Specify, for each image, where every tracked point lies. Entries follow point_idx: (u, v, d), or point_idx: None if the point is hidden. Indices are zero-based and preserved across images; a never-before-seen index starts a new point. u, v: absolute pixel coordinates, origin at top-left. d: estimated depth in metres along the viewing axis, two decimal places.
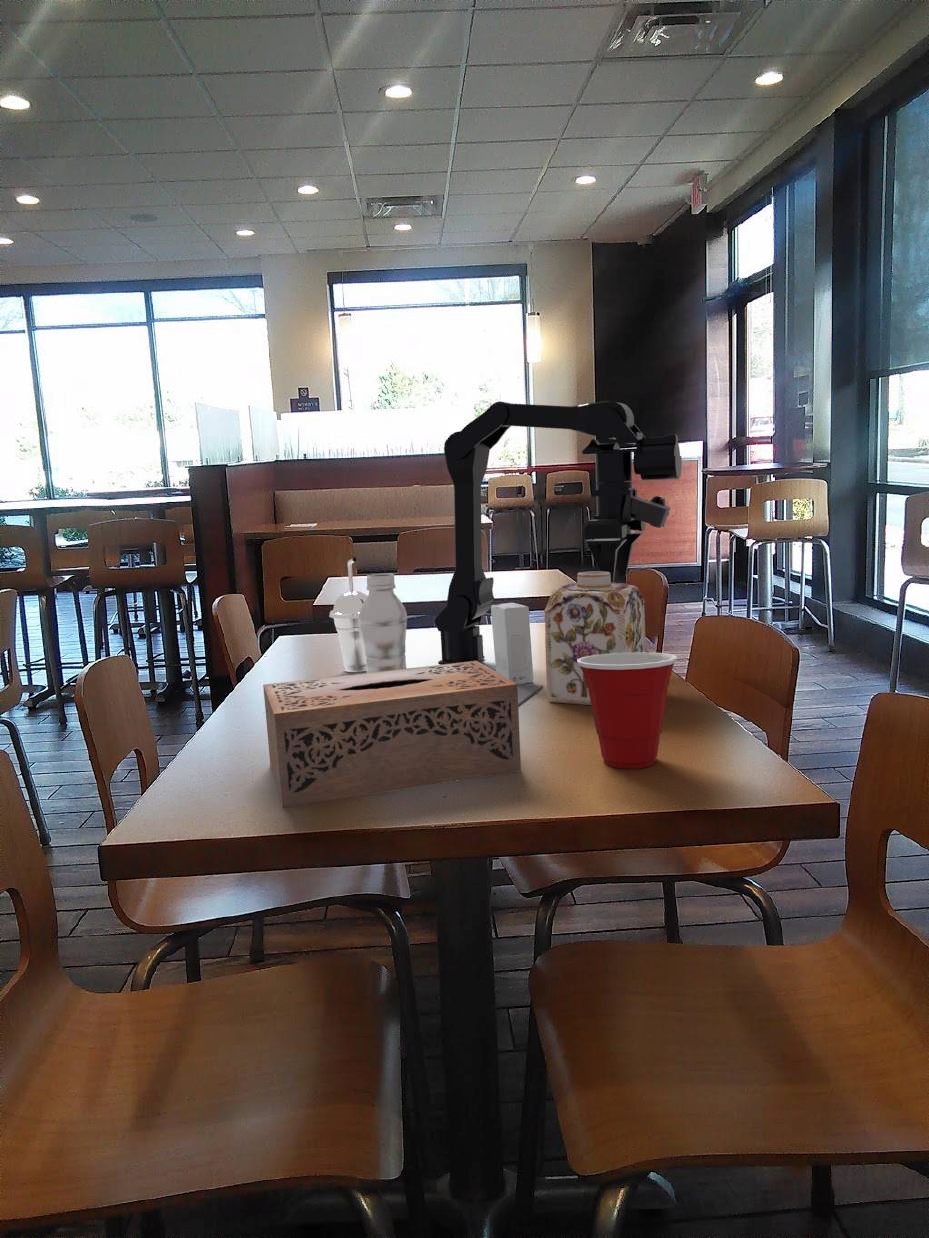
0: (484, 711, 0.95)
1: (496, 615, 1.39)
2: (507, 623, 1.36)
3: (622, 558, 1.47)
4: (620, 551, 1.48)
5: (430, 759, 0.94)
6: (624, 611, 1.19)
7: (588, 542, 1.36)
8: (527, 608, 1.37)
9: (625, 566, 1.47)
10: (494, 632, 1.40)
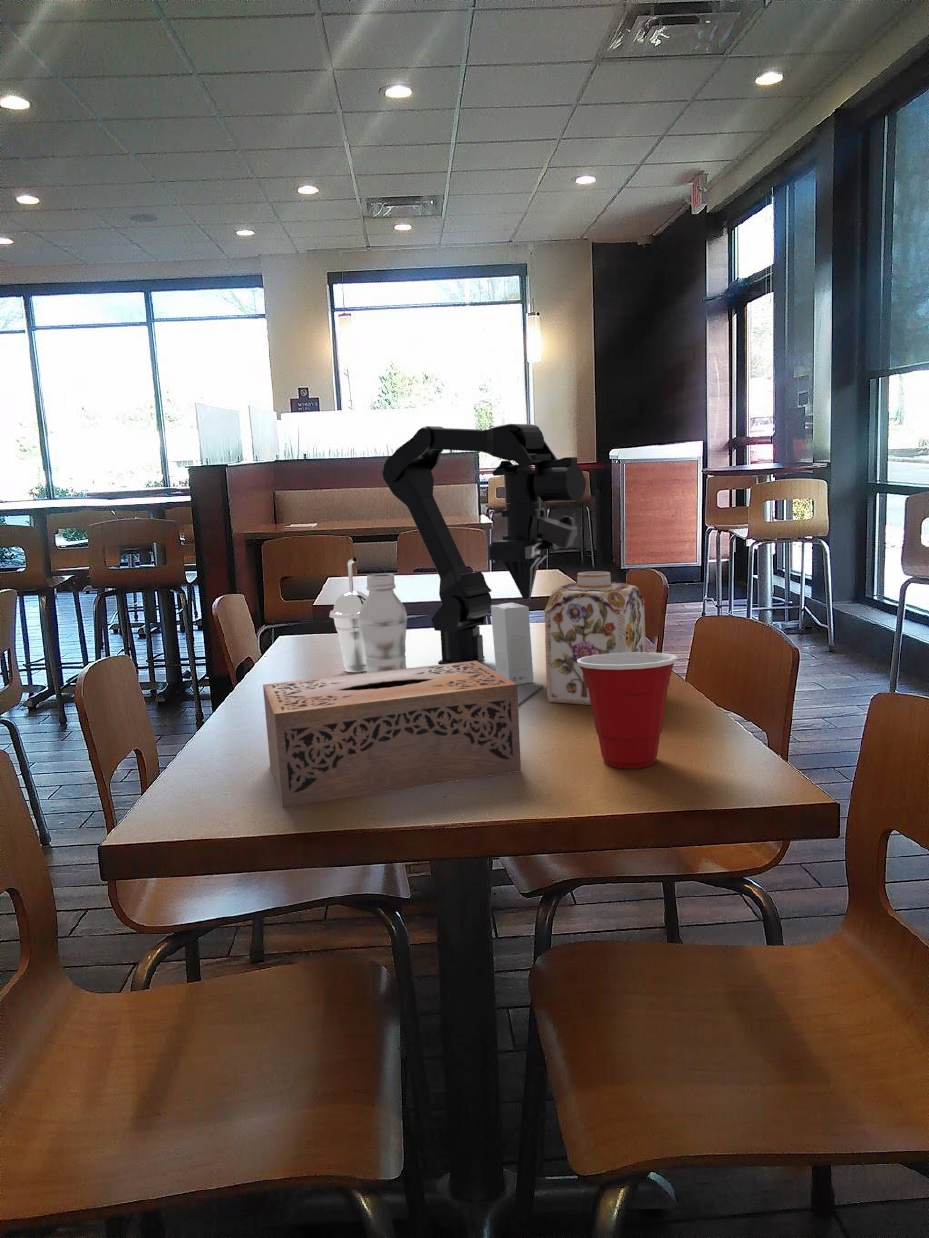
0: (484, 711, 0.95)
1: (496, 615, 1.39)
2: (507, 623, 1.36)
3: None
4: None
5: (430, 759, 0.94)
6: (624, 611, 1.19)
7: (504, 560, 1.43)
8: (527, 608, 1.37)
9: None
10: (494, 632, 1.40)
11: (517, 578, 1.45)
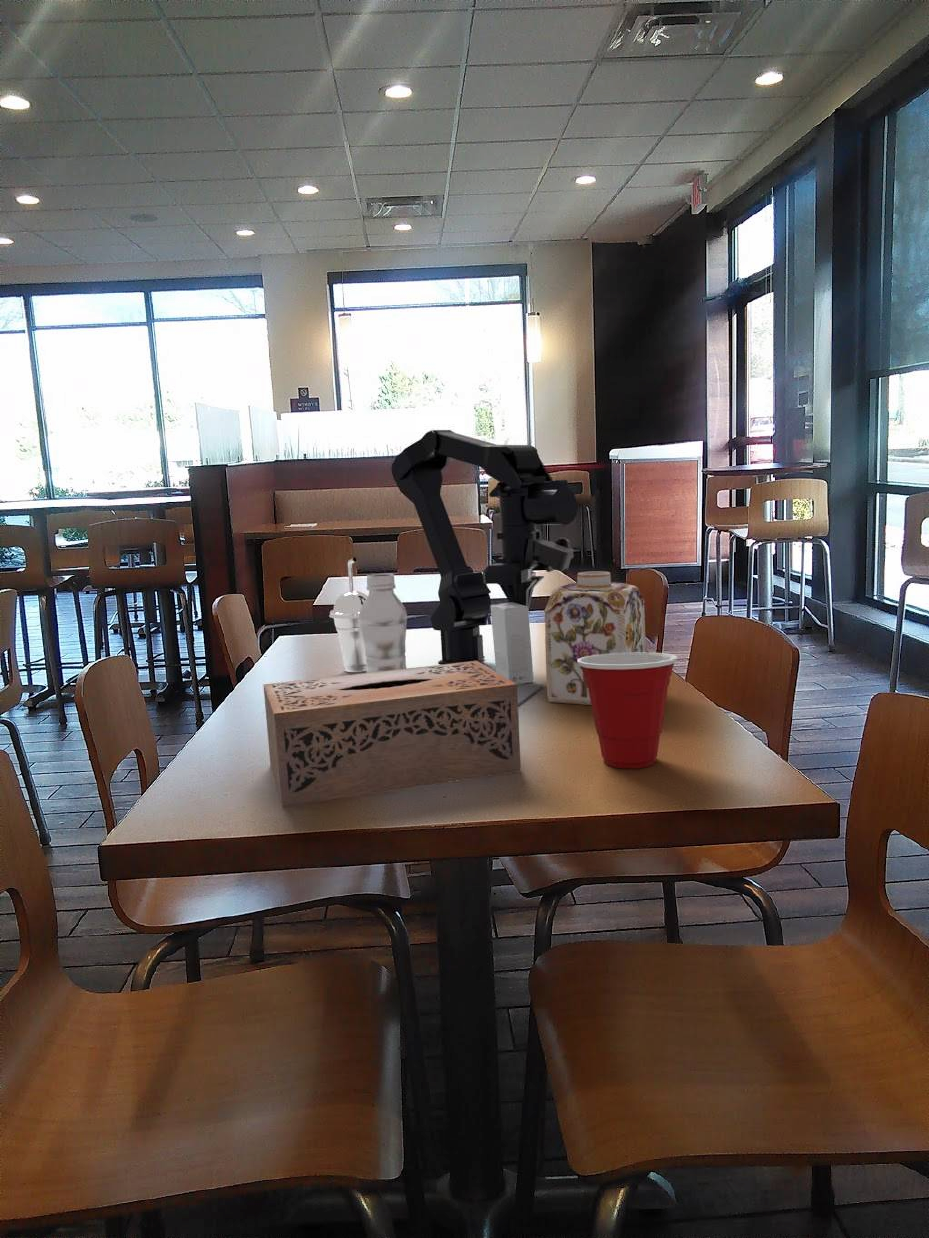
0: (484, 711, 0.95)
1: (496, 615, 1.39)
2: (507, 623, 1.36)
3: None
4: None
5: (430, 759, 0.94)
6: (624, 611, 1.19)
7: None
8: (527, 608, 1.37)
9: None
10: (494, 632, 1.40)
11: (513, 601, 1.43)
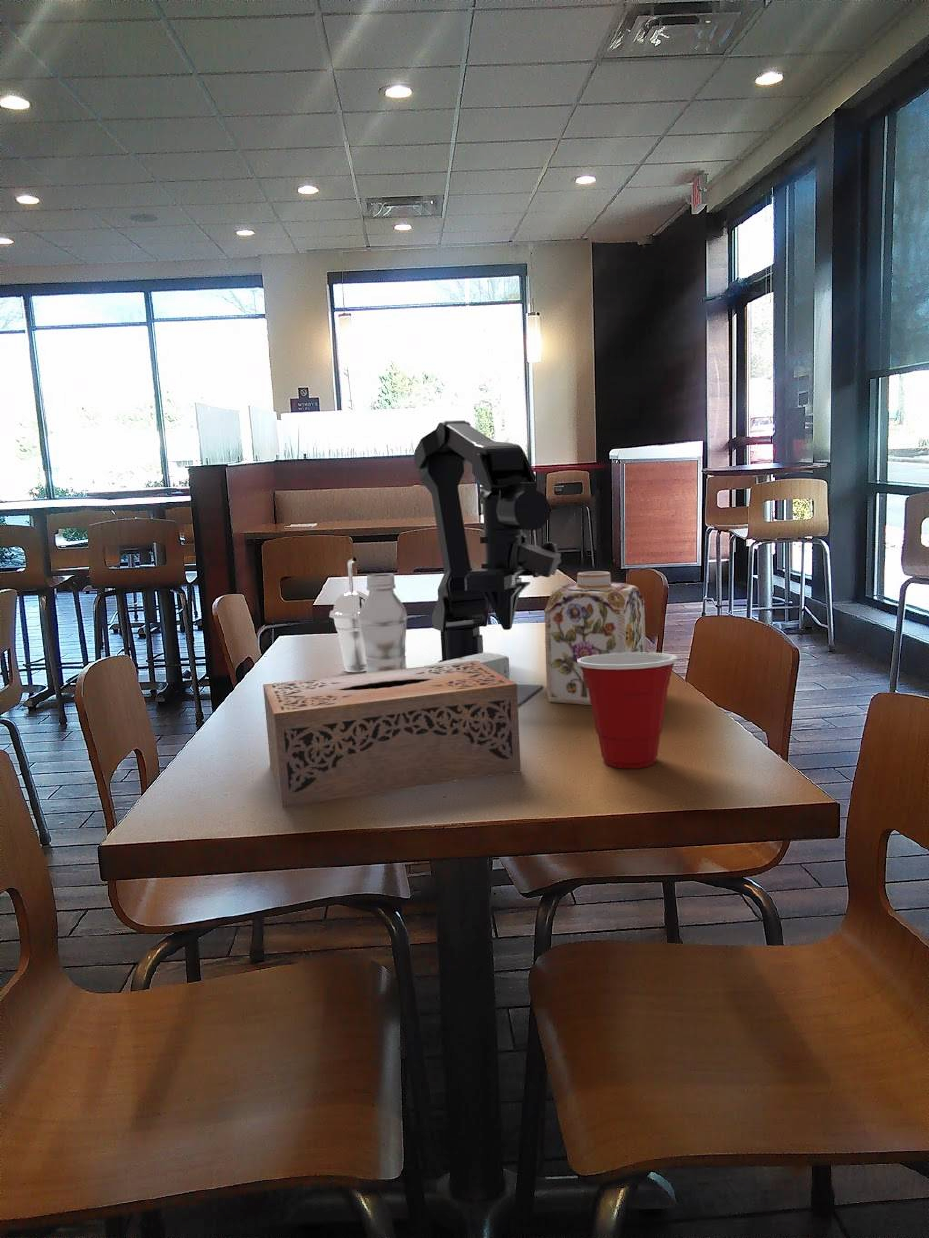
0: (484, 711, 0.95)
1: None
2: None
3: None
4: None
5: (430, 759, 0.94)
6: (624, 611, 1.19)
7: None
8: None
9: None
10: None
11: (497, 608, 1.36)
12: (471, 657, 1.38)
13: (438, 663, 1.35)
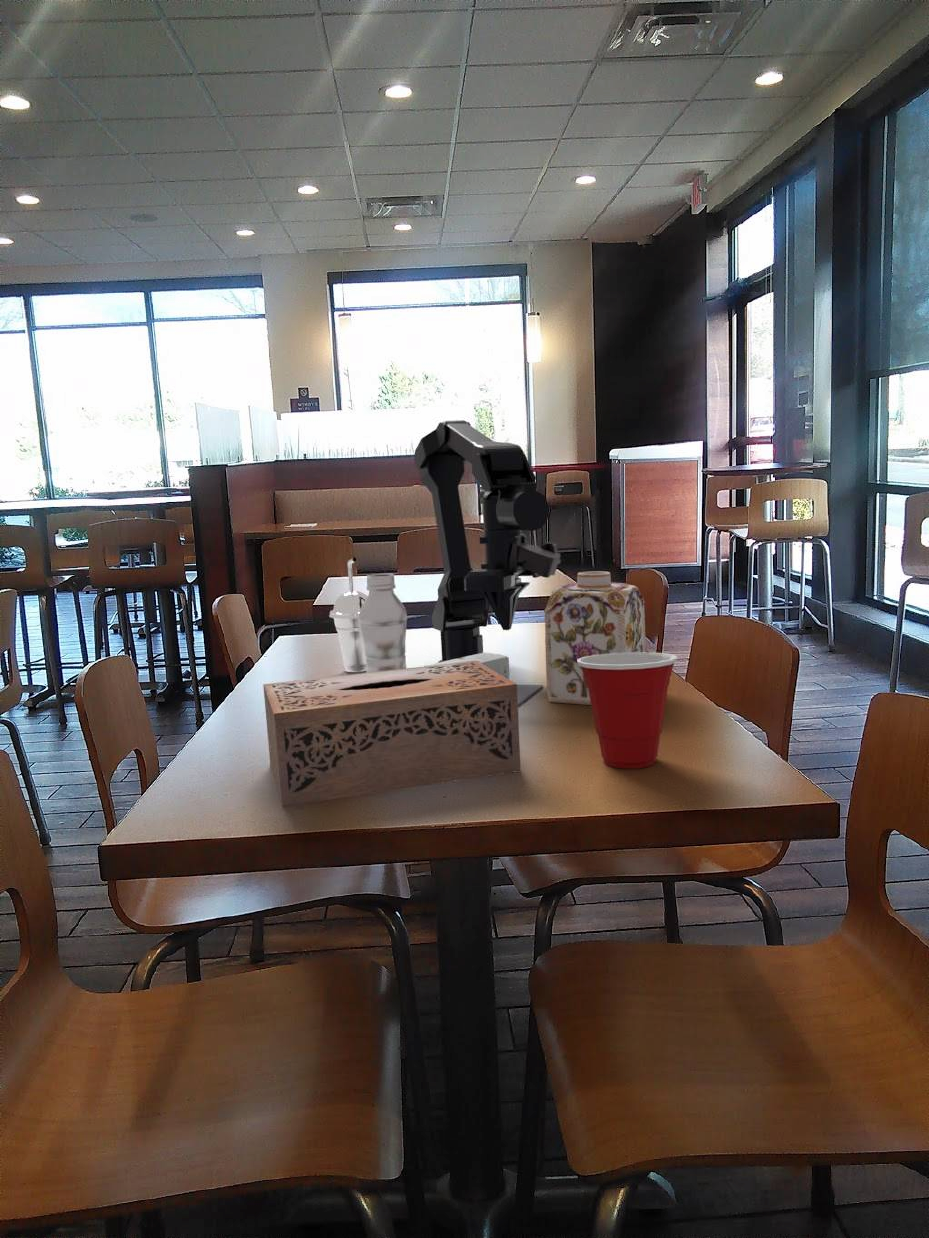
0: (484, 711, 0.95)
1: None
2: None
3: None
4: None
5: (430, 759, 0.94)
6: (624, 611, 1.19)
7: None
8: None
9: None
10: None
11: (496, 608, 1.36)
12: (471, 657, 1.38)
13: (438, 663, 1.35)
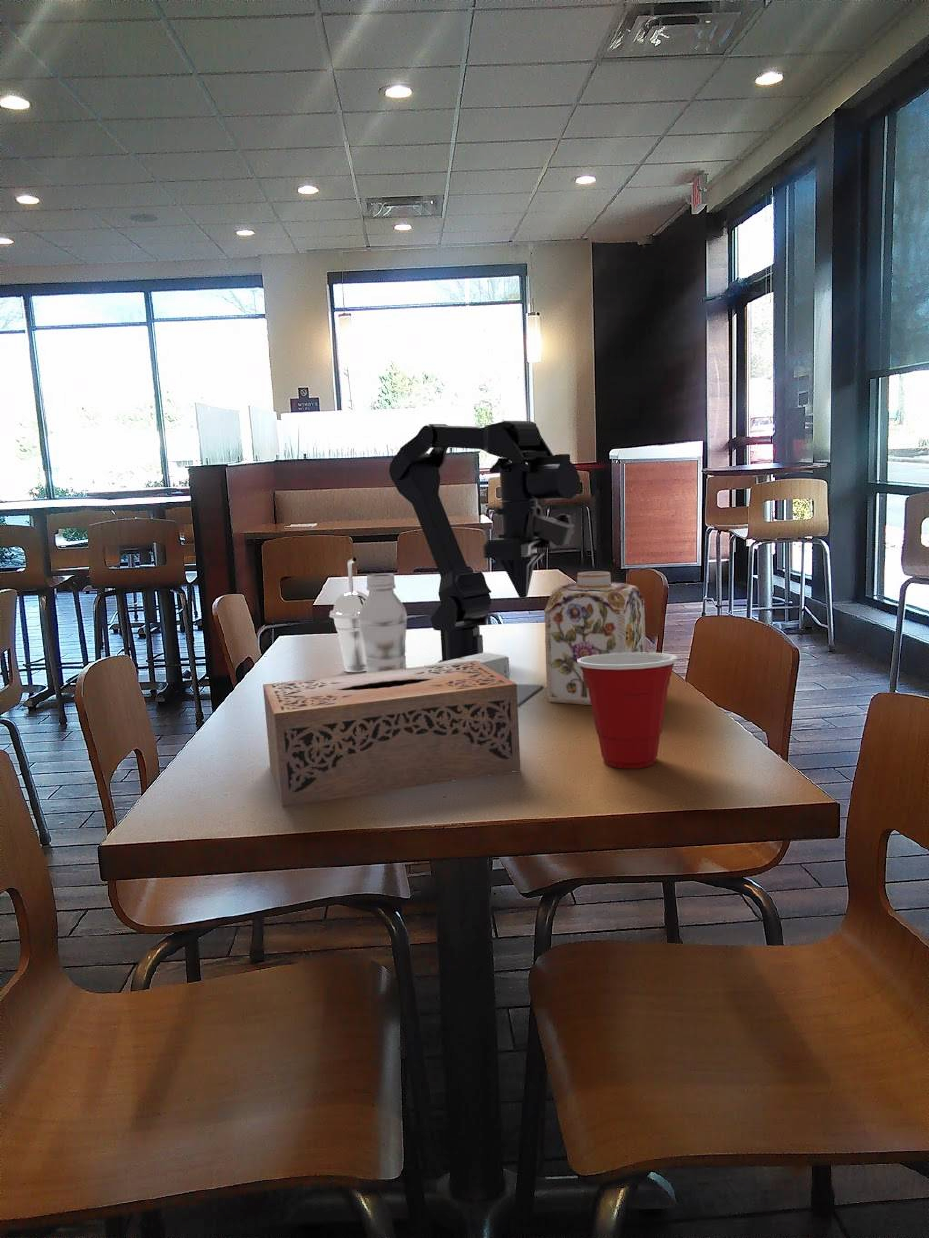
0: (484, 711, 0.95)
1: None
2: None
3: None
4: None
5: (430, 759, 0.94)
6: (624, 611, 1.19)
7: (500, 558, 1.41)
8: None
9: None
10: None
11: (513, 577, 1.43)
12: (471, 657, 1.38)
13: (438, 663, 1.35)
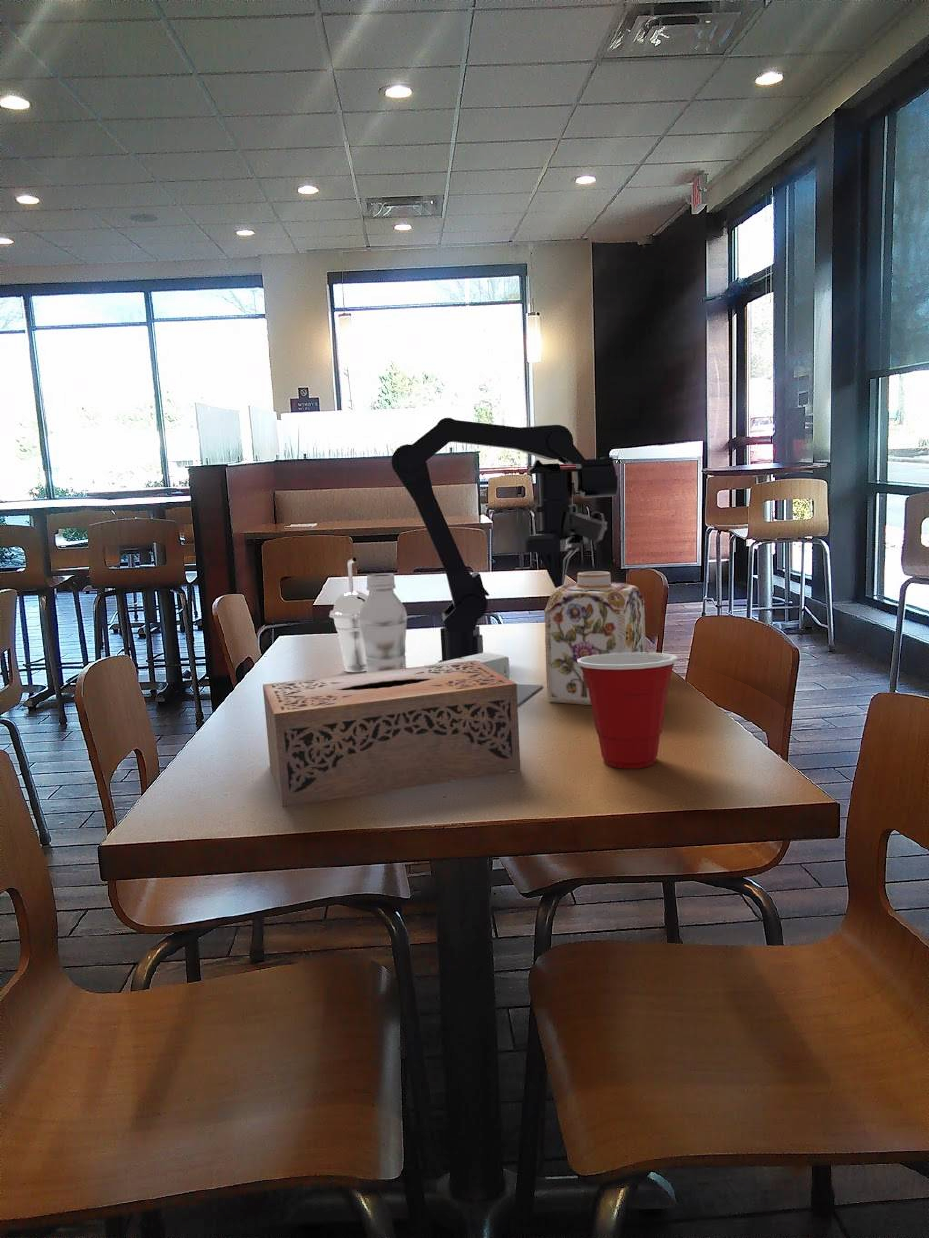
0: (484, 711, 0.95)
1: None
2: None
3: None
4: None
5: (430, 758, 0.94)
6: (624, 611, 1.19)
7: (538, 552, 1.53)
8: None
9: None
10: None
11: (550, 570, 1.55)
12: (471, 657, 1.38)
13: (438, 663, 1.35)
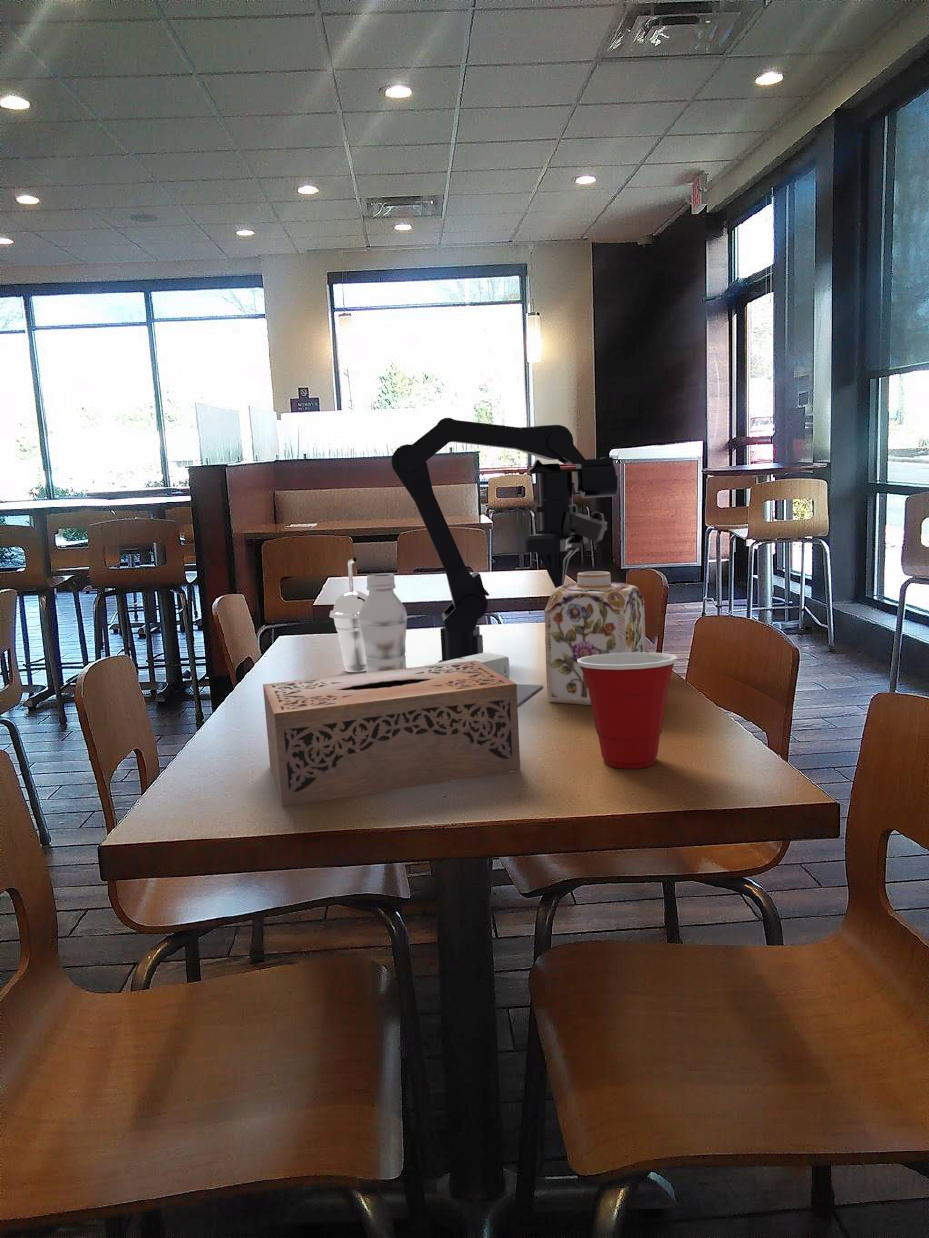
0: (484, 711, 0.95)
1: None
2: None
3: None
4: None
5: (429, 758, 0.94)
6: (624, 611, 1.19)
7: (538, 552, 1.53)
8: None
9: None
10: None
11: (550, 570, 1.55)
12: (471, 657, 1.38)
13: (438, 663, 1.35)
